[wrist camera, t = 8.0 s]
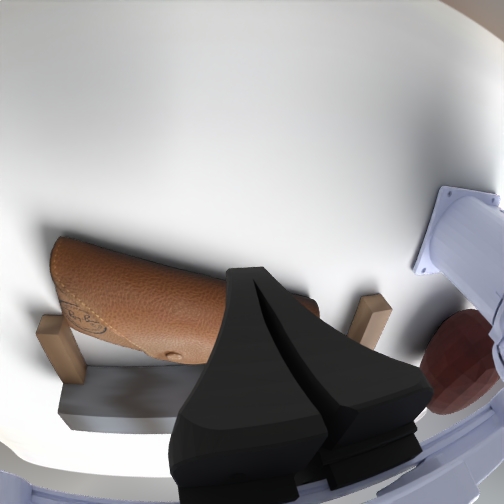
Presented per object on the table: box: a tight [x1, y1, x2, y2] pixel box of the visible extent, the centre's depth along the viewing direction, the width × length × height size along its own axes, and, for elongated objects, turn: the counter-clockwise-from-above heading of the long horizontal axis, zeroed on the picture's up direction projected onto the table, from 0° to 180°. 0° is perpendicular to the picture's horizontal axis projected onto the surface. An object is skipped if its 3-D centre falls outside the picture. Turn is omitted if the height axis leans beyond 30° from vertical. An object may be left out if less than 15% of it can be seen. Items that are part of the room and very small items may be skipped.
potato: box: [420, 309, 500, 415], centre depth 27 cm, size 11×13×10 cm
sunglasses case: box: [50, 236, 320, 364], centre depth 20 cm, size 18×7×7 cm
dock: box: [36, 294, 392, 434], centre depth 21 cm, size 27×9×5 cm, turn 86°
